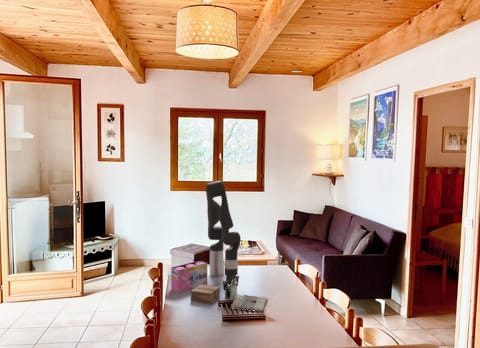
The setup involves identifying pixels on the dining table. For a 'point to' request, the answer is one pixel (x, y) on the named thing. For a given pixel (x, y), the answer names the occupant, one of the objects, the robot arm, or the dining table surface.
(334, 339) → the dining table surface
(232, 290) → the sage block
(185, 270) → the gum box
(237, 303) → the dish towel
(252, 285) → the dining table surface
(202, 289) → the walnut base
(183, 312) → the dining table surface
